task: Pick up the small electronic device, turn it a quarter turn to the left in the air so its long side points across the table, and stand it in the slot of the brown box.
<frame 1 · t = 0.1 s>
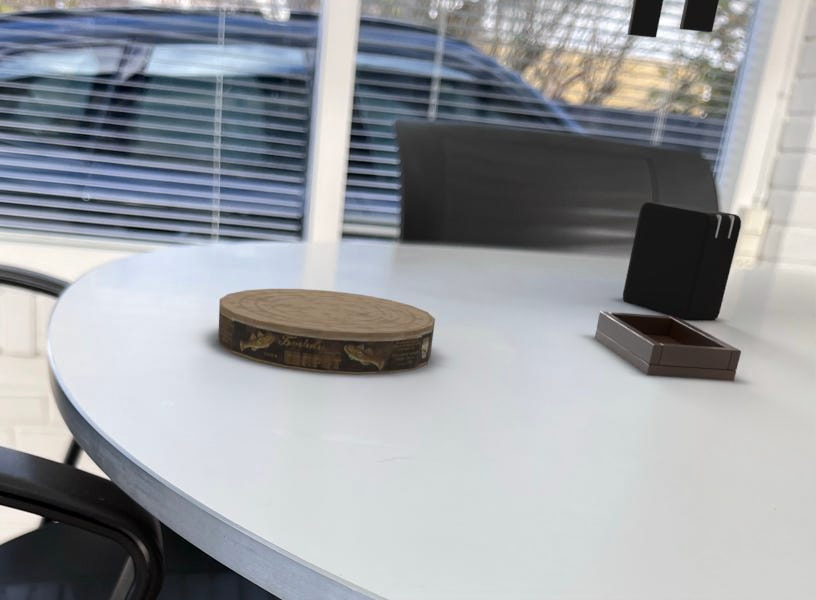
hand: (666, 34, 98), 25 cm above the table, tool pointing down, fingers open, 13 cm apart
electronic device: (667, 314, 109), on the table
tin can: (324, 352, 79), on the table
brown box: (659, 360, 87), on the table
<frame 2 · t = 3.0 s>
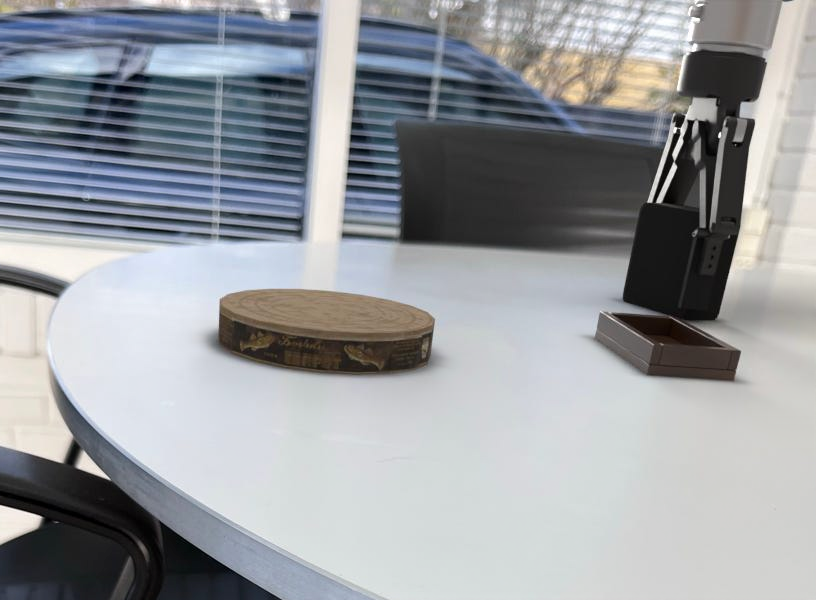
hand: (671, 298, 108), 1 cm above the table, tool pointing down, fingers closed on electronic device, 10 cm apart
electronic device: (667, 314, 109), on the table, touching gripper
everything else where it was.
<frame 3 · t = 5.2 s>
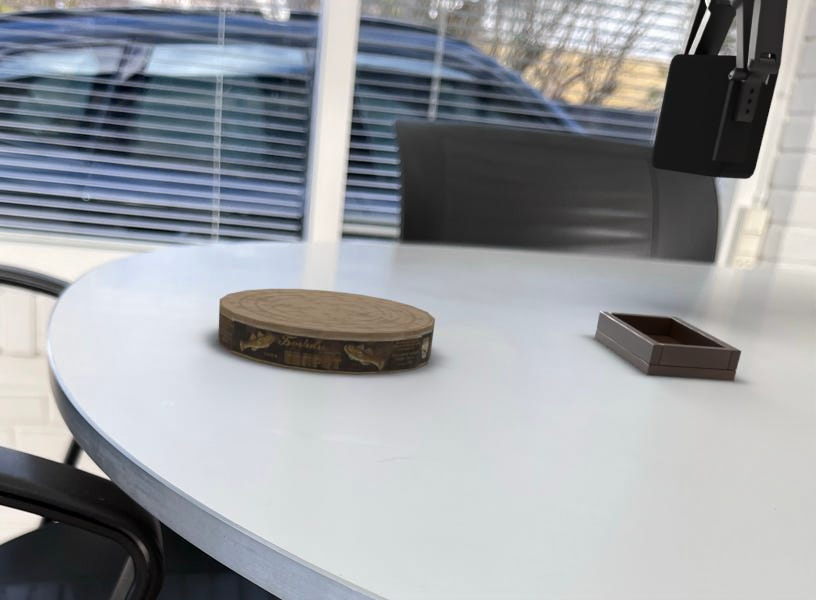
hand: (703, 157, 102), 15 cm above the table, tool pointing down, fingers closed on electronic device, 10 cm apart
electronic device: (699, 175, 103), point 13 cm above the table, touching gripper
everything else where it was.
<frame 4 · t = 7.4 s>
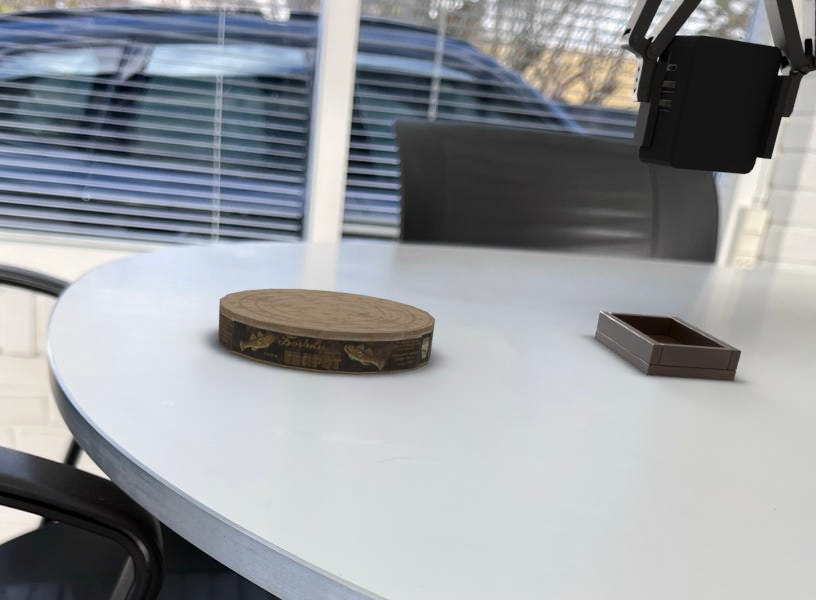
hand: (701, 152, 94), 15 cm above the table, tool pointing down, fingers closed on electronic device, 10 cm apart
electronic device: (694, 171, 94), point 14 cm above the table, touching gripper
everything else where it was.
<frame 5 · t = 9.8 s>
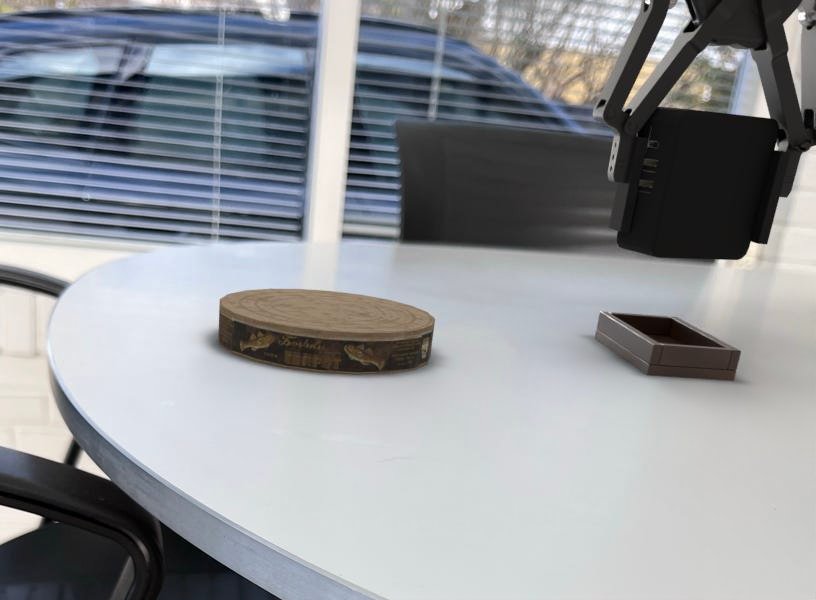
hand: (687, 236, 82), 10 cm above the table, tool pointing down, fingers closed on electronic device, 10 cm apart
electronic device: (679, 257, 83), point 8 cm above the table, touching gripper
everything else where it was.
when the fingers open (4 cm above the table, at t = 11.7 s): electronic device stays where it is, resting on brown box.
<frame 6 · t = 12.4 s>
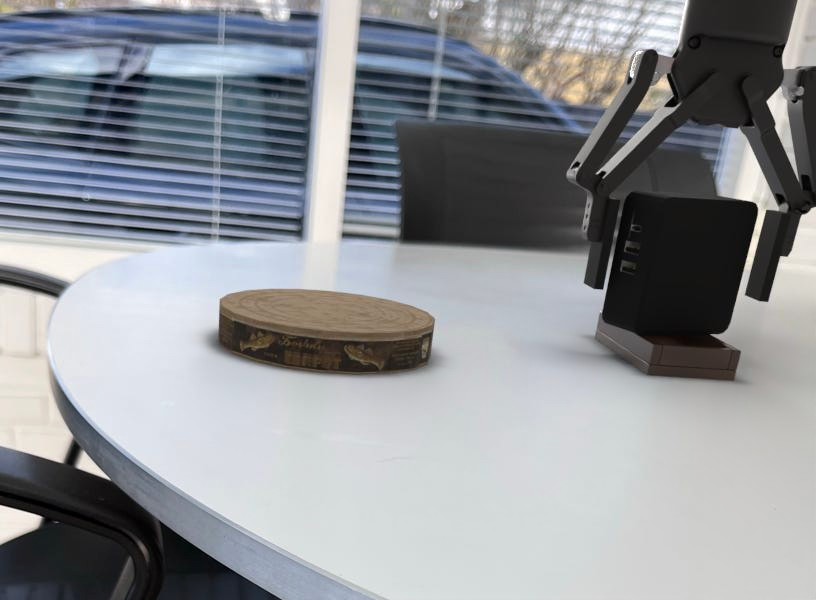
hand: (675, 293, 84), 5 cm above the table, tool pointing down, fingers open, 13 cm apart
electronic device: (663, 331, 85), point 2 cm above the table, touching brown box
everything else where it was.
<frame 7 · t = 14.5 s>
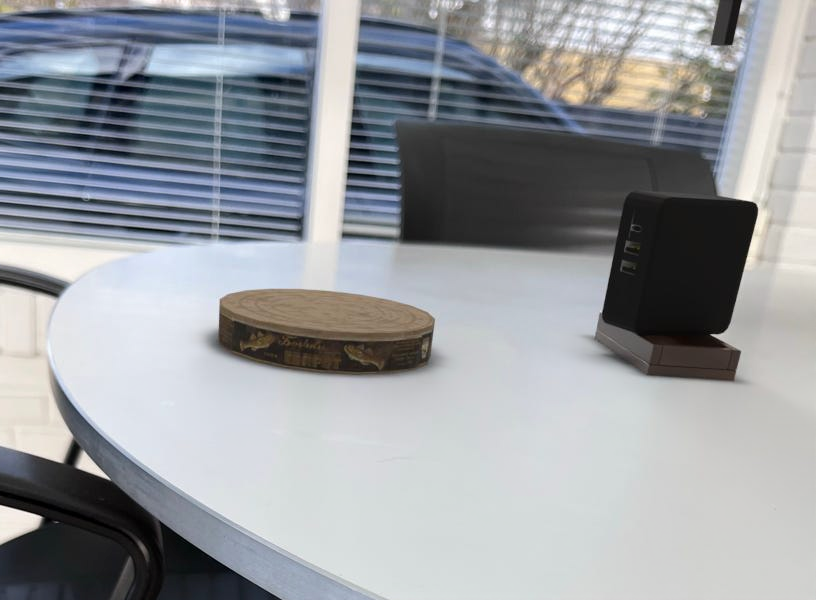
hand: (796, 52, 91), 24 cm above the table, tool pointing down, fingers open, 13 cm apart
nothing on the table moved.
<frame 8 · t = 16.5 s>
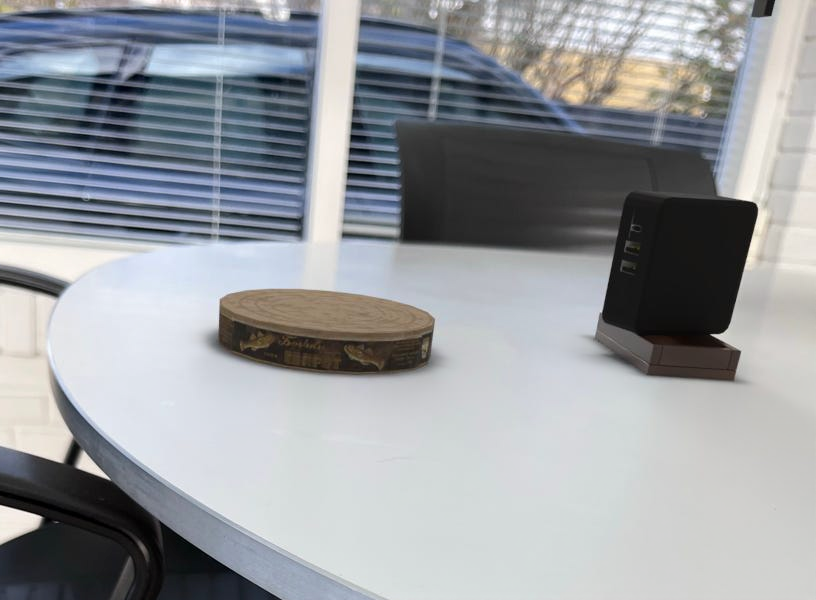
nothing on the table moved.
at the end: electronic device 0.2 cm off-centre on the brown box, point 2.3 cm above the brown box's base; electronic device tilted 0° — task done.
